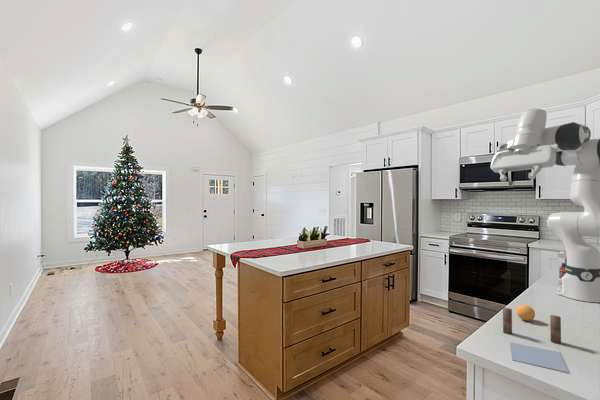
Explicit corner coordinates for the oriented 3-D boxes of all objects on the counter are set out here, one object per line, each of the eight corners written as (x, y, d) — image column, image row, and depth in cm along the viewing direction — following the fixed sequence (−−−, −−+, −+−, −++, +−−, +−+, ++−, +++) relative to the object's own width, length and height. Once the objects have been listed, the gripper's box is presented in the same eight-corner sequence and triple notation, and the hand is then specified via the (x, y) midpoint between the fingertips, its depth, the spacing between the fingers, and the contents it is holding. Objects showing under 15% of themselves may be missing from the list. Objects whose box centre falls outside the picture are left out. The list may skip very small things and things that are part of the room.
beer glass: (578, 281, 160) (577, 253, 160) (563, 280, 161) (562, 253, 161) (569, 277, 166) (568, 251, 166) (554, 277, 168) (554, 251, 168)
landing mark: (509, 342, 93) (509, 341, 93) (559, 352, 86) (559, 352, 86) (512, 360, 83) (512, 359, 83) (569, 373, 76) (569, 372, 76)
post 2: (550, 339, 95) (549, 314, 95) (560, 341, 93) (559, 316, 93) (551, 342, 93) (550, 317, 93) (561, 344, 91) (561, 318, 91)
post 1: (503, 330, 102) (502, 307, 102) (511, 332, 100) (511, 308, 100) (503, 333, 99) (502, 309, 100) (512, 335, 98) (512, 311, 98)
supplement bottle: (556, 283, 156) (555, 262, 156) (566, 283, 156) (566, 262, 156) (567, 286, 150) (567, 264, 150) (578, 286, 150) (577, 264, 150)
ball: (516, 316, 114) (515, 302, 114) (534, 319, 111) (534, 304, 111) (517, 321, 109) (517, 306, 109) (536, 324, 106) (535, 309, 106)
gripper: (563, 146, 102) (555, 180, 99) (501, 155, 120) (493, 185, 117) (554, 136, 100) (546, 171, 97) (492, 147, 118) (484, 177, 115)
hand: (516, 179), depth 107 cm, fingers open, 8 cm apart
